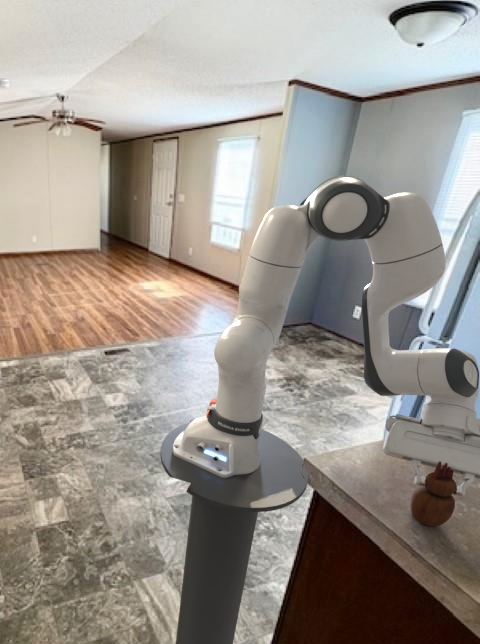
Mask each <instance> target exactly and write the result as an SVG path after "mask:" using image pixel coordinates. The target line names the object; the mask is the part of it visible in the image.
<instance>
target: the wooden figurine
mask: <svg viewBox="0 0 480 644" xmlns="http://www.w3.org/2000/svg"><path fill="white" fill-rule="evenodd" d="M447 465H448V463H445V465H444V466H443V468H442V469H441V461H439V463H438V465H437V467H436V468H435V469H434V471H433V472H430V473H428V474H426V475H425V476H426V480H425V482H426V483H425V486H421V485H420V486H418V487H416V488H415V489H414V490H413V492H412V493H411V496H410V500H409V504H410V505H409V506H410V513H411V515H412V518H413V519H414V520H415V521H416V522H418V523H420V524H422V525H425V526H428V527H440V526H442V525H444V524H445V523H446V522H448V521H449V520H450V518H451V517H452V516H453V514H454V512H455V509H456V499H455V497H454V495H453V493H454V492H455V489H456V485H457V482H456V481H455V479H454V478H453V476H454V472H453V470H452V469H451V468H450V467H448V468H447ZM450 469H451V470H450Z"/></svg>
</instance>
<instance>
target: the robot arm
mask: <svg viewBox="0 0 480 644" xmlns="http://www.w3.org/2000/svg"><path fill="white" fill-rule="evenodd" d="M320 237H322V238H324V239H326V240H329V241H335V242H345V241H355V240H363V241H364V242H365V244H366V245H367V248H368V251H369V255H370V259H371V263H372V269H373V270H372V271H373V272H372V278H371V280H370V281H371V282H370V283H368V284H367V285H365V287H364V288H363V289H362V290H363V291H362V295H361V308H360V309H361V326H362V338H363V339H362V341H363V351H364V353H363V354H364V360H363V379H364V382H365V385H366V386H367V387H368V388H369V389H370V390H372V391H373V392H374V393H376V394H377V395H379V396H380V397H392V396H403V395H404V396H425V400H424V402H423V404H422V405H421V411H420V413H421V414H420V418H416V417H413V416H406V415H403V414H399V413H398V414H393V415H390V416H388V417H387V418H386V421H385V430H386V431H387V432H386V435H385V438H384V442H383V445H382V451H383V452H384V454H385V455H386V456H389V457H392V458H396V459H400V460H404V461H407V462H409V468H410V470H411V471H412V474H413V476H414V480H413V484H414V485H418V486H420V487H421V486H425V483H426V482H425V480H426V476H427V475H422V473H421V470H420V469H419V468H420V467H421V465H422V466H423V465H424V466H427V467H432V468H435V469H436V467H437V465H438V463H439V461H441V469H442V468H443V466H444V465H445V463H448V465H447V468H448V467H450V468H451V469H452V470H453V474H454V473H455V474H458V475H461V480H462V481H463V482H462V483H461V484H460V485H459V484H456V489H455V492H454V493H453V494H452V496H457V497H460V498H464V497H466V494H467V493H466V492H467V488H468V487H469V486H470V485H471V484H472V483H473V482H474V481H476V479H477V480H480V418H478V417H477V410H476V401H477V399H478V398H479V391H480V390H479V389H480V370H479V366H478V361H477V358H476V357H475V355H473V354H471V353H470V352H468V351H465V350H461V349H457V348H454V347H453V348H451V347H439V348H438V347H434V348H424V349H404V350H403V349H402V350H399V349H395V348H392V347H391V344H390V325H389V324H390V323H389V316H390V315H389V314H390V312H391V311H393V310H394V309H395V308H397V307H400V306H401V305H404V304H406V303H408V302H410V301H412V300H414V299H417V298H418V297H420V296H422V295H423V294H426V292H428V291H430V290H431V289H432V288H434V286H436V284H438V282H440V281H441V278H442V277H443V275H444V273H445V270H446V254H445V248H444V244H443V240H442V237H441V233H440V229H439V227H438V224H437V221H436V218H435V216H434V214H433V212H432V210H431V208H430V205H429V204H428V202H427V200H426V199H425V197H424V196H422V195H421V194H419V193H416V192H409V191H407V192H406V191H405V192H398V193H393V194H391V195H388V196H382V195H381V194H380V193H378V192H377V191H376V190H375V189H374V188H373V187H372V186H370V185H369V184H368V183H366V181H364V180H362V179H361V178H359V177H356V176H351V175H338V176H334V177H330V178H328V179H326V180H324V181H323V182H322V183H320V184H318V186H317V187H315V188H314V189H313V191H312V192H311V193H309V195H307V197H305V198H304V199H303V201H302V202H300V204H299V205H293V204H282V205H278V206H274V207H273V208H271V209H270V210H268V212H267V213H266V214H265V215H264V217H263V220H262V221H261V223H260V225H259V228H258V229H257V232H256V234H255V237H254V239H253V241H252V245H251V247H250V250H249V253H248V257H247V260H246V264H245V267H244V270H243V273H242V277H241V280H240V284H239V287H238V293H239V295H238V303H237V308H236V313H235V316H234V319H233V320H232V322H231V323H230V325H229V326H228V327H227V328H225V329H224V330H223V331H222V332H221V333H220V335H219V337H218V339H217V341H216V343H215V347H214V352H213V353H214V355H213V356H214V359H215V362H216V364H217V372H218V385H217V386H218V387H217V395H216V398H212V399H211V401H210V402H209V406H208V408H207V411H206V413H205V415H203V416H200V417H197V418H194V417H190V421H189V423H190V424H189V425H188V426H187V428H186V429H185V431H183V432H182V433H180V434H179V435H178V437H177V438H176V440H175V442H174V444H173V454H174V455H175V456H177V457H179V458H181V459H183V460H185V461H187V462H190V463H192V464H194V465H196V466H198V467H200V468H203V469H205V470H207V471H209V472H211V473H213V474H216V475H218V476H220V477H222V478H228V477H231V476H233V475H241V474H248V473H251V472H253V471H255V470H256V469H257V468H258V467H259V465H260V459H259V453H258V437H259V435H260V433H261V429H263V428H262V427H263V422H264V421H263V420H264V419H263V418H264V414H263V408H264V402H265V396H266V392H267V391H266V390H267V385H266V370H267V363H268V359H269V357H270V354H271V352H272V351H273V349H274V348H275V346H276V345H278V341H279V339H280V336H281V332H282V329H283V326H284V323H285V320H286V316H287V313H288V309H289V306H290V301H291V299H292V296H293V293H294V291H295V288H296V285H297V282H298V280H299V277H300V274H301V270H302V268H303V266H304V262H305V260H306V256H307V254H308V251H309V249H310V248H311V246H312V244H313V243H314V242H315V241H317V239H319V238H320ZM451 469H450V470H451Z"/></svg>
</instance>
